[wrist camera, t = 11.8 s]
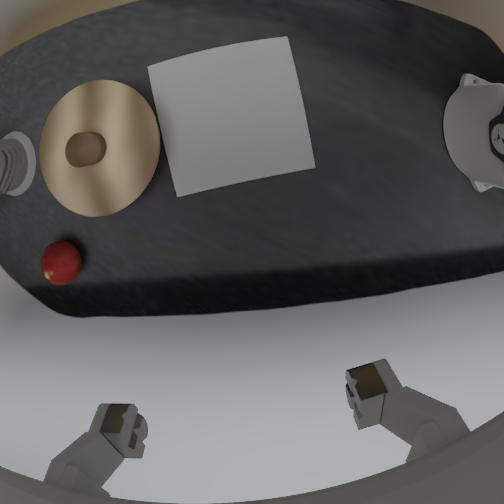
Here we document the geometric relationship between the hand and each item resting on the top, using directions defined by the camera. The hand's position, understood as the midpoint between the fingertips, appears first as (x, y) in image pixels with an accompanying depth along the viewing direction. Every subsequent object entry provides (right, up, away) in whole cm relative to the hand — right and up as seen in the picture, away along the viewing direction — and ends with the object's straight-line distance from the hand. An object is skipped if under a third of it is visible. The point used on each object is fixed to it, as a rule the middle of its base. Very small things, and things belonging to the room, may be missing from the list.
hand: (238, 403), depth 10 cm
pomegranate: (-25, +6, +28) cm, 38 cm away
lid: (-16, +17, +18) cm, 29 cm away
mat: (-2, +22, +23) cm, 31 cm away
